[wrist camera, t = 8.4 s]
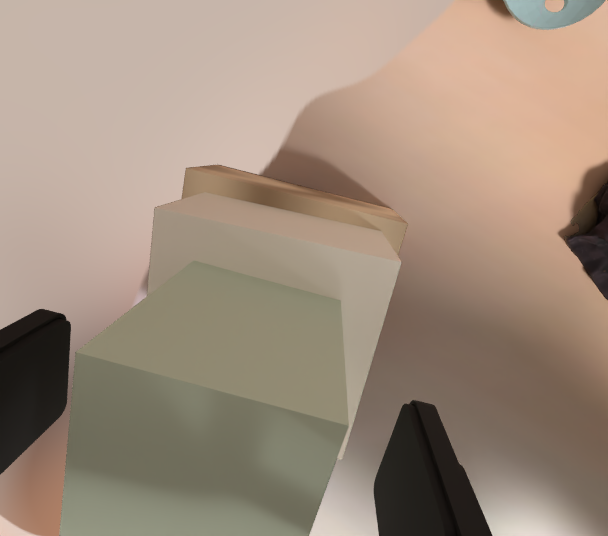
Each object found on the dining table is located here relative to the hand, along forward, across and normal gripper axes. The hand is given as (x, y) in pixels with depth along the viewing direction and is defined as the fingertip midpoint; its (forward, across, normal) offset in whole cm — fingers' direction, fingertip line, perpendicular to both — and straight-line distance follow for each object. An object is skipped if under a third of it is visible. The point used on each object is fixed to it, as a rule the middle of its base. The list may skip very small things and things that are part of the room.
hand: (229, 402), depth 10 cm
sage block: (+3, 0, 0) cm, 3 cm away
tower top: (+8, 0, 0) cm, 8 cm away
